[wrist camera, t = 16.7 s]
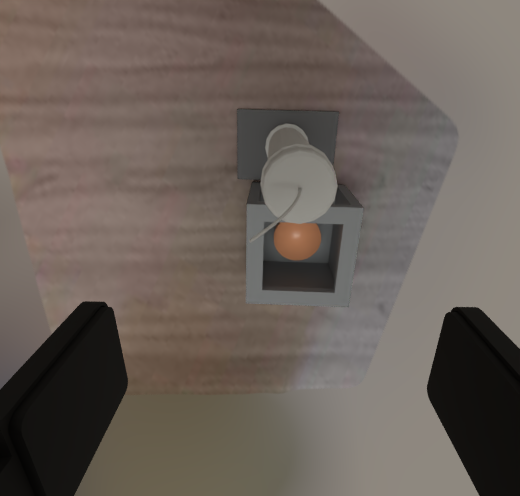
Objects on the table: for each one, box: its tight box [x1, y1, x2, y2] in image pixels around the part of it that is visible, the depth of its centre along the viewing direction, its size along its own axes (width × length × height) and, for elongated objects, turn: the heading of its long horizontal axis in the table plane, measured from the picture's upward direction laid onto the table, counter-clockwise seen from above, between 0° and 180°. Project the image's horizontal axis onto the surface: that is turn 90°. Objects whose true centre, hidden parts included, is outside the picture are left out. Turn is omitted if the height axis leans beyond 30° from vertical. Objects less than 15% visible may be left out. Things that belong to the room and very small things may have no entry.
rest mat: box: [237, 109, 339, 180], centre depth 46 cm, size 9×13×1 cm
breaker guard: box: [246, 182, 364, 307], centre depth 46 cm, size 13×13×11 cm
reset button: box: [274, 222, 321, 260], centre depth 48 cm, size 6×6×3 cm
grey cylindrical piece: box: [249, 123, 338, 243], centre depth 32 cm, size 6×6×30 cm
